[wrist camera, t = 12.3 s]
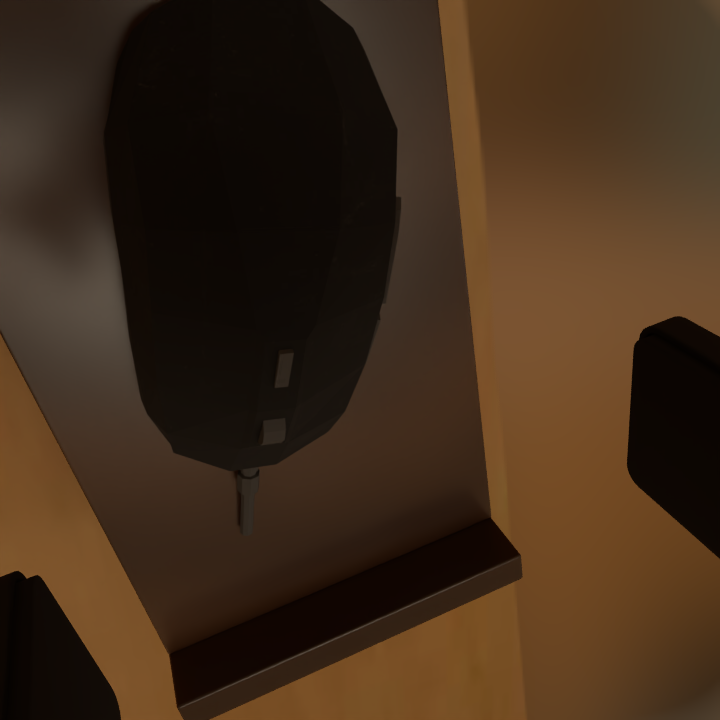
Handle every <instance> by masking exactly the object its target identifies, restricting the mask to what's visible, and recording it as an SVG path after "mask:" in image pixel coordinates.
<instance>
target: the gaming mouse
mask: <svg viewBox="0 0 720 720" xmlns="http://www.w3.org/2000/svg"><path fill="white" fill-rule="evenodd" d="M397 137H398V129H397V126H396V124H395V122H394V119H393V117H392V114H391V112H390V110H389V107H388V105H387V102H386V100H385V98H384V95H383V93H382V90H381V88H380V86H379V83H378V81H377V78H376V76H375V74H374V71H373V69H372V67H371V64H370V62H369V59H368V57H367V55H366V52H365V50H364V47H363V45H362V43H361V42H360V40H359V38H358V36H357V34H356V32H355V30H354V28H353V27H352V26H351V25H349V24H348V23H347V22H346V21H345V20H343V19H342V18H341V17H340V16H338V15H337V14H336V13H335V12H334V11H332V10H331V9H330V8H329V7H328V6H326V5H325V4H324V3H323V2H322V1H320V0H170V1H168V2H167V3H165V4H163V5H162V6H160V7H158V8H157V9H155V10H153V11H152V12H150V13H149V14H148V15H147V16H146V17H145V18H144V19H143V20H142V21H141V22H140V23H139V24H138V25H137V26H136V27H135V28H134V29H133V30H132V31H131V33H130V35H129V37H128V40H127V42H126V44H125V46H124V48H123V51H122V53H121V55H120V57H119V59H118V62H117V65H116V70H115V76H114V82H113V88H112V94H111V100H110V106H109V112H108V118H107V122H106V126H105V129H104V140H103V144H104V153H105V162H106V171H107V181H108V190H109V199H110V208H111V214H112V219H113V225H114V231H115V237H116V243H117V248H118V254H119V260H120V267H121V273H122V281H123V289H124V297H125V306H126V314H127V322H128V330H129V339H130V344H131V349H132V355H133V360H134V365H135V370H136V376H137V381H138V386H139V392H140V397H141V401H142V403H143V406H144V408H145V410H146V413H147V415H148V416H149V417H150V419H151V420H152V421H153V423H154V424H155V425H156V427H157V428H158V429H159V430H160V432H161V433H162V434H163V436H164V437H165V438H166V439H167V441H168V442H169V443H170V445H171V447H172V450H173V453H175V454H178V455H181V456H185V457H188V458H191V459H194V460H197V461H200V462H203V463H206V464H209V465H212V466H215V467H218V468H221V469H224V470H227V471H235V470H238V474H237V490H238V491H239V492H240V493H241V518H240V533H241V534H242V535H243V536H249V535H251V534H252V532H253V516H254V494H255V493H257V492H258V489H259V476H260V470H259V469H258V468H259V467H262V466H269V465H275V464H278V463H279V462H281V461H283V460H284V459H286V458H287V457H289V456H291V455H292V454H294V453H295V452H297V451H299V450H300V449H302V448H303V447H305V446H306V445H308V444H310V443H311V442H313V441H314V440H316V439H318V438H319V437H321V436H322V435H324V434H326V433H327V432H329V431H330V429H331V428H332V427H333V426H334V424H335V423H336V422H337V421H338V420H339V418H340V417H341V416H342V415H343V413H344V412H345V411H346V408H347V406H348V404H349V401H350V399H351V397H352V394H353V392H354V390H355V387H356V385H357V383H358V380H359V378H360V375H361V373H362V371H363V368H364V366H365V364H366V362H367V360H368V357H369V354H370V351H371V348H372V345H373V342H374V339H375V336H376V333H377V330H378V327H379V324H380V321H381V319H380V309H381V306H382V304H386V300H387V295H388V289H389V284H390V278H391V273H392V267H393V262H394V256H395V251H396V245H397V239H398V234H399V226H400V217H401V197H396V176H397Z"/></svg>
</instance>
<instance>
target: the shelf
mask: <svg viewBox="0 0 720 720" xmlns="http://www.w3.org/2000/svg"><path fill="white" fill-rule="evenodd" d="M168 1H170V0H0V334H1V336H2V338H3V340H4V342H5V343H6V345H7V347H8V349H9V351H10V353H11V355H12V357H13V359H14V361H15V363H16V364H17V366H18V368H19V370H20V372H21V374H22V376H23V378H24V380H25V382H26V383H27V385H28V387H29V389H30V391H31V393H32V395H33V397H34V399H35V401H36V403H37V404H38V406H39V408H40V410H41V412H42V414H43V416H44V418H45V420H46V422H47V424H48V425H49V427H50V429H51V431H52V433H53V435H54V437H55V439H56V441H57V443H58V444H59V446H60V448H61V450H62V452H63V454H64V456H65V458H66V460H67V462H68V464H69V465H70V467H71V469H72V471H73V473H74V475H75V477H76V479H77V481H78V483H79V485H80V486H81V488H82V490H83V492H84V494H85V496H86V498H87V500H88V502H89V504H90V506H91V507H92V509H93V511H94V513H95V515H96V517H97V519H98V521H99V523H100V525H101V526H102V528H103V530H104V532H105V534H106V536H107V538H108V540H109V542H110V544H111V546H112V547H113V549H114V551H115V553H116V555H117V557H118V559H119V561H120V563H121V565H122V567H123V568H124V570H125V572H126V574H127V576H128V578H129V580H130V582H131V584H132V586H133V587H134V589H135V591H136V593H137V595H138V597H139V599H140V601H141V603H142V605H143V607H144V608H145V610H146V612H147V614H148V616H149V618H150V620H151V622H152V624H153V626H154V628H155V629H156V631H157V633H158V635H159V637H160V639H161V641H162V643H163V645H164V647H165V648H166V650H167V652H168V654H169V657H170V664H171V670H172V677H173V684H174V690H175V697H176V704H177V708H178V710H179V712H180V714H181V716H182V717H183V719H184V720H210V719H212V718H214V717H216V716H218V715H221V714H223V713H225V712H227V711H229V710H232V709H234V708H236V707H238V706H240V705H243V704H245V703H247V702H249V701H251V700H254V699H256V698H258V697H260V696H263V695H265V694H267V693H269V692H271V691H274V690H276V689H278V688H280V687H282V686H285V685H287V684H289V683H291V682H293V681H296V680H298V679H300V678H302V677H305V676H307V675H309V674H311V673H313V672H316V671H318V670H320V669H322V668H324V667H327V666H329V665H331V664H333V663H335V662H338V661H340V660H342V659H344V658H347V657H349V656H351V655H353V654H355V653H358V652H360V651H362V650H364V649H366V648H369V647H371V646H373V645H375V644H377V643H380V642H382V641H384V640H386V639H389V638H391V637H393V636H395V635H397V634H400V633H402V632H404V631H406V630H408V629H411V628H413V627H415V626H417V625H419V624H422V623H424V622H426V621H428V620H431V619H433V618H435V617H437V616H439V615H442V614H444V613H446V612H448V611H450V610H453V609H455V608H457V607H459V606H461V605H464V604H466V603H468V602H470V601H472V600H475V599H477V598H479V597H481V596H484V595H486V594H488V593H490V592H492V591H495V590H497V589H499V588H501V587H503V586H506V585H508V584H510V583H512V582H514V581H517V580H519V579H521V578H522V564H521V555H520V554H519V553H518V551H517V550H516V549H515V548H514V546H513V545H512V544H511V542H510V541H509V540H508V539H507V537H506V536H505V535H504V534H503V532H502V531H501V530H500V529H499V527H498V526H497V525H496V524H495V522H494V521H493V520H492V519H491V510H490V500H489V490H488V481H487V471H486V461H485V452H484V442H483V432H482V423H481V413H480V403H479V394H478V384H477V374H476V365H475V355H474V345H473V336H472V326H471V316H470V307H469V297H468V287H467V278H466V268H465V258H464V249H463V239H462V229H461V220H460V210H459V200H458V191H457V181H456V171H455V162H454V152H453V142H452V133H451V123H450V113H449V104H448V94H447V84H446V75H445V65H444V55H443V46H442V36H441V26H440V17H439V7H438V0H320V1H322V2H323V3H324V4H325V5H326V6H328V7H329V8H330V9H331V10H332V11H334V12H335V13H336V14H337V15H338V16H340V17H341V18H342V19H343V20H345V21H346V22H347V23H348V24H349V25H351V26H352V27H353V28H354V30H355V32H356V34H357V36H358V38H359V40H360V42H361V43H362V45H363V47H364V50H365V52H366V55H367V57H368V59H369V62H370V64H371V67H372V69H373V71H374V74H375V76H376V78H377V81H378V83H379V86H380V88H381V90H382V93H383V95H384V98H385V100H386V102H387V105H388V107H389V110H390V112H391V114H392V117H393V119H394V122H395V124H396V126H397V129H398V137H397V176H396V197H401V217H400V226H399V234H398V239H397V245H396V251H395V256H394V262H393V267H392V273H391V278H390V284H389V289H388V295H387V300H386V304H382V306H381V309H380V319H381V321H380V324H379V327H378V330H377V333H376V336H375V339H374V342H373V345H372V348H371V351H370V354H369V357H368V360H367V362H366V364H365V366H364V368H363V371H362V373H361V375H360V378H359V380H358V383H357V385H356V387H355V390H354V392H353V394H352V397H351V399H350V401H349V404H348V406H347V408H346V411H345V412H344V413H343V415H342V416H341V417H340V418H339V420H338V421H337V422H336V423H335V424H334V426H333V427H332V428H331V429H330V431H329V432H327V433H326V434H324V435H322V436H321V437H319V438H318V439H316V440H314V441H313V442H311V443H310V444H308V445H306V446H305V447H303V448H302V449H300V450H299V451H297V452H295V453H294V454H292V455H291V456H289V457H287V458H286V459H284V460H283V461H281V462H279V463H278V464H275V465H269V466H262V467H259V468H258V469H259V470H260V476H259V489H258V492H257V493H255V494H254V516H253V532H252V534H251V535H249V536H243V535H242V534H241V533H240V518H241V493H240V492H239V491H238V490H237V474H238V470H235V471H227V470H224V469H221V468H218V467H215V466H212V465H209V464H206V463H203V462H200V461H197V460H194V459H191V458H188V457H185V456H181V455H178V454H175V453H173V450H172V447H171V445H170V443H169V442H168V441H167V439H166V438H165V437H164V436H163V434H162V433H161V432H160V430H159V429H158V428H157V427H156V425H155V424H154V423H153V421H152V420H151V419H150V417H149V416H148V415H147V413H146V410H145V408H144V406H143V403H142V401H141V397H140V392H139V386H138V381H137V376H136V370H135V365H134V360H133V355H132V349H131V344H130V339H129V330H128V322H127V314H126V306H125V297H124V289H123V281H122V273H121V267H120V260H119V254H118V248H117V243H116V237H115V231H114V225H113V219H112V214H111V208H110V199H109V190H108V181H107V171H106V162H105V153H104V144H103V140H104V129H105V126H106V122H107V118H108V112H109V106H110V100H111V94H112V88H113V82H114V76H115V70H116V65H117V62H118V59H119V57H120V55H121V53H122V51H123V48H124V46H125V44H126V42H127V40H128V37H129V35H130V33H131V31H132V30H133V29H134V28H135V27H136V26H137V25H138V24H139V23H140V22H141V21H142V20H143V19H144V18H145V17H146V16H147V15H148V14H149V13H150V12H152V11H153V10H155V9H157V8H158V7H160V6H162V5H163V4H165V3H167V2H168Z"/></svg>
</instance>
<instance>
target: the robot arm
mask: <svg viewBox="0 0 720 720" xmlns="http://www.w3.org/2000/svg"><path fill="white" fill-rule="evenodd" d="M627 468H628V471H629V474H630V476H631V478H632V480H633V481H634V482H635V484H636V485H637V486H638V487H639V488H641V489H642V490H643V491H644V492H645V493H646V494H647V495H648V496H650V497H651V498H652V499H653V500H654V501H655V502H656V503H657V504H659V505H660V506H661V507H662V508H663V509H664V510H665V511H667V512H668V513H669V514H670V515H671V516H672V517H673V518H675V519H676V520H677V521H678V522H679V523H680V524H681V525H683V526H684V527H685V528H686V529H687V530H688V531H689V532H690V533H691V534H692V535H694V536H695V537H696V538H697V539H698V540H699V541H700V542H702V543H703V544H704V545H705V546H706V547H707V548H708V549H709V550H711V551H712V552H713V553H714V554H715V555H716V556H717V557H719V558H720V337H719V336H717V335H715V334H713V333H712V332H710V331H708V330H706V329H704V328H703V327H701V326H698V325H697V324H695V323H694V322H692V321H690V320H688V319H686V318H683V317H680V316H677V317H673V318H670V319H667V320H665V321H662V322H660V323H657V324H654V325H652V326H649V327H647V328H645V329H643V331H642V332H641V334H640V338H639V340H638V341H637V342H636V343H635V345H634V353H633V370H632V387H631V404H630V421H629V439H628V457H627ZM0 720H121V716H120V710H119V705H118V702H117V698H116V696H115V693H114V691H113V689H112V687H111V686H110V684H109V683H108V681H107V680H106V678H105V676H104V675H103V673H102V672H101V670H100V669H99V667H98V665H97V664H96V662H95V661H94V659H93V658H92V656H91V654H90V653H89V651H88V650H87V648H86V647H85V645H84V643H83V642H82V640H81V639H80V637H79V636H78V634H77V632H76V631H75V629H74V628H73V626H72V625H71V623H70V622H69V620H68V618H67V617H66V615H65V614H64V612H63V611H62V609H61V607H60V606H59V604H58V603H57V601H56V600H55V598H54V596H53V595H52V593H51V592H50V590H49V589H48V587H47V585H46V584H45V582H44V581H43V580H42V578H41V577H40V576H38V575H35V576H33V577H30V578H28V579H26V577H25V576H24V575H23V574H22V573H21V572H19V571H15V572H12V573H10V574H7V575H4V576H2V577H0Z"/></svg>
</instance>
